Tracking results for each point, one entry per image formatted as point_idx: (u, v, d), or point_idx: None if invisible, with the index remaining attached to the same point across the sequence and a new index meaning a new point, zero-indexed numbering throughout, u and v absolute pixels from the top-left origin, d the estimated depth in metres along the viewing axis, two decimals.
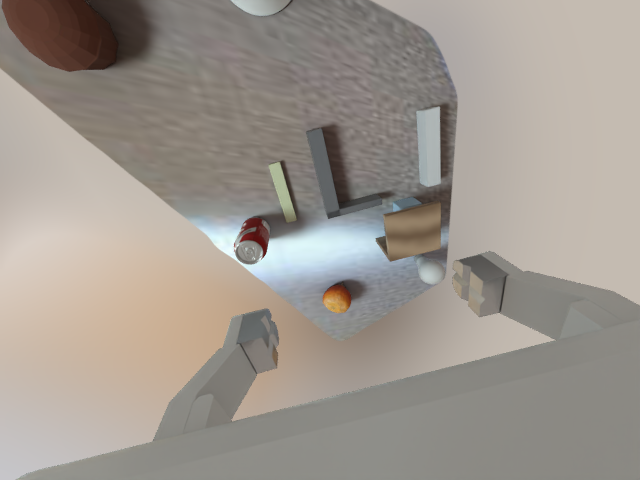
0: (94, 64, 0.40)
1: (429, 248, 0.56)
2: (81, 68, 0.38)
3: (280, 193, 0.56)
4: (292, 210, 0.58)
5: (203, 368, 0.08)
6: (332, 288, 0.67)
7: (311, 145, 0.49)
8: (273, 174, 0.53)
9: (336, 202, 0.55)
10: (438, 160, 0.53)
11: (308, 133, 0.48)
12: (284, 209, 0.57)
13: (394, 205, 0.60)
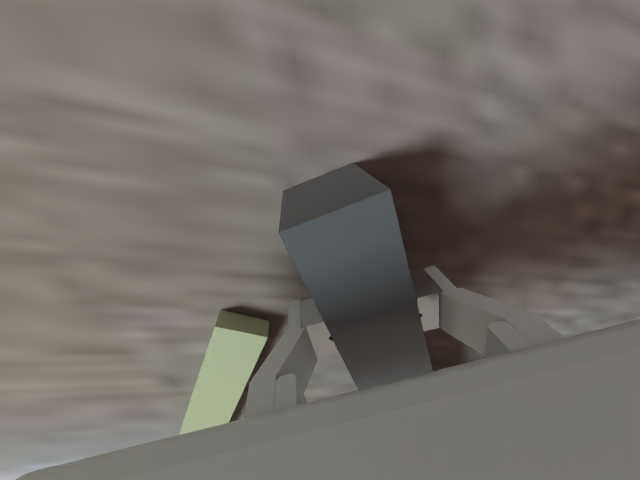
0: None
1: None
2: None
3: (199, 412, 0.14)
4: None
5: (274, 349, 0.08)
6: None
7: (321, 299, 0.07)
8: (213, 357, 0.12)
9: None
10: None
11: (291, 236, 0.06)
12: None
13: None
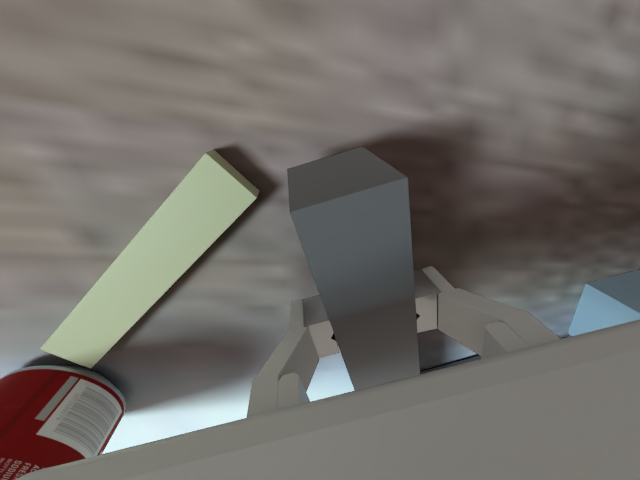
0: None
1: None
2: None
3: (127, 270, 0.11)
4: (110, 340, 0.13)
5: (277, 349, 0.08)
6: None
7: (324, 282, 0.07)
8: (183, 197, 0.10)
9: None
10: None
11: (302, 217, 0.06)
12: (81, 316, 0.12)
13: (599, 299, 0.16)
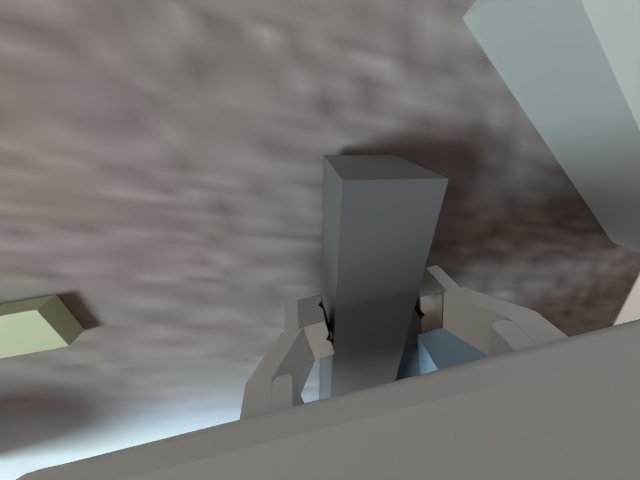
0: None
1: None
2: None
3: None
4: None
5: (271, 350, 0.08)
6: None
7: (346, 259, 0.08)
8: None
9: None
10: None
11: (350, 188, 0.07)
12: None
13: (424, 353, 0.16)
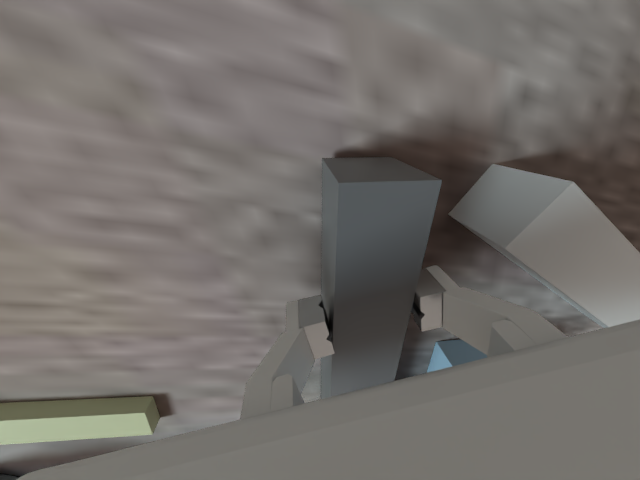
0: None
1: None
2: None
3: (26, 426, 0.15)
4: None
5: (272, 350, 0.08)
6: None
7: (343, 260, 0.08)
8: (110, 418, 0.15)
9: None
10: None
11: (346, 190, 0.07)
12: None
13: (442, 361, 0.16)
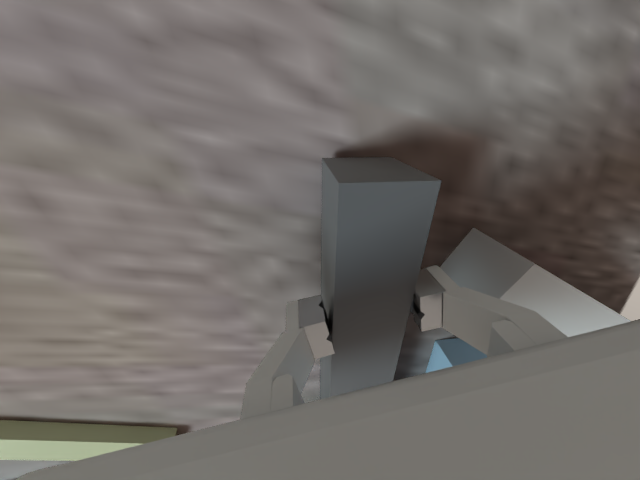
0: None
1: None
2: None
3: (61, 446, 0.16)
4: None
5: (271, 350, 0.08)
6: None
7: (343, 259, 0.08)
8: None
9: None
10: None
11: (346, 190, 0.07)
12: None
13: (440, 358, 0.17)
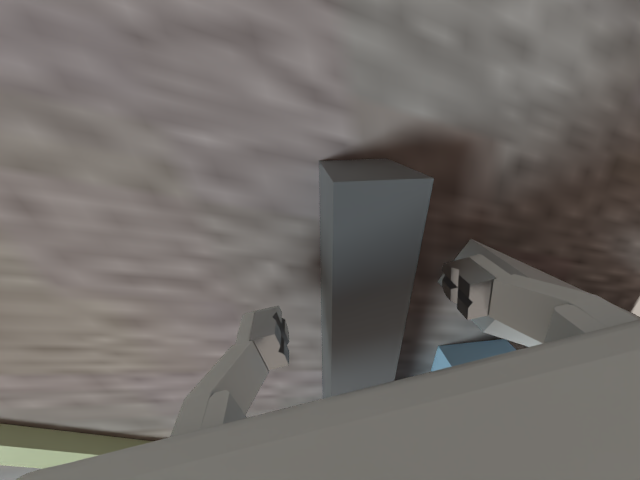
0: None
1: None
2: None
3: (56, 456, 0.16)
4: None
5: (217, 364, 0.08)
6: None
7: (340, 258, 0.08)
8: None
9: None
10: None
11: (341, 189, 0.07)
12: None
13: (444, 364, 0.16)
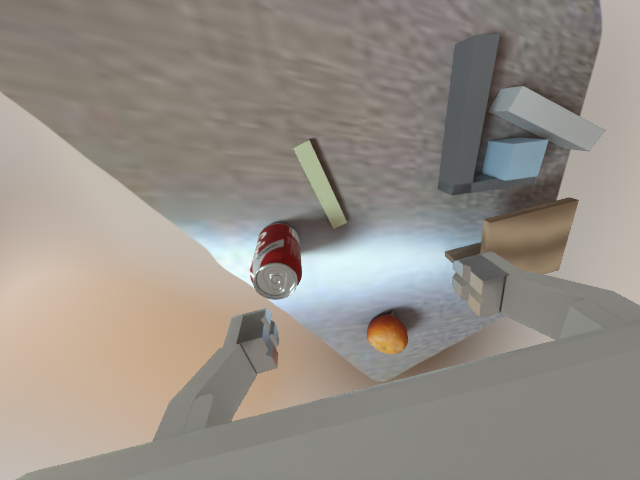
0: None
1: (543, 270, 0.37)
2: None
3: (326, 188, 0.37)
4: (304, 165, 0.35)
5: (203, 368, 0.08)
6: (381, 320, 0.48)
7: (473, 62, 0.29)
8: (339, 213, 0.39)
9: (472, 170, 0.35)
10: (577, 119, 0.34)
11: (477, 37, 0.28)
12: (317, 164, 0.35)
13: (491, 146, 0.37)
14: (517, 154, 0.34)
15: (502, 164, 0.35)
